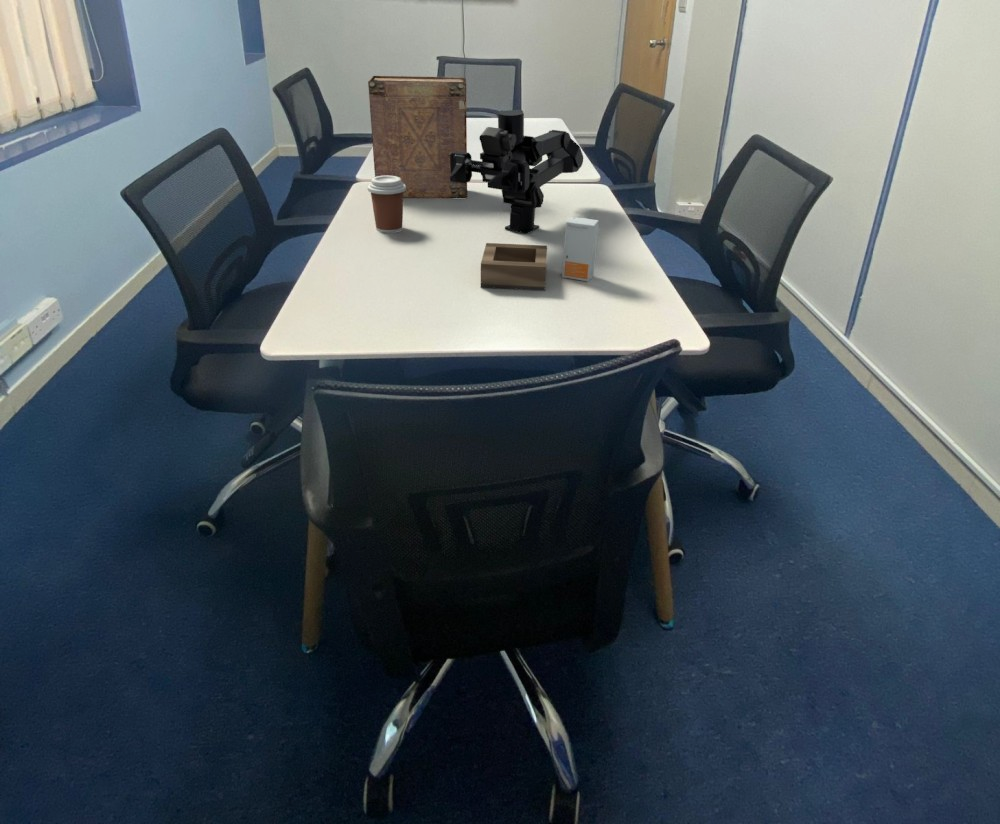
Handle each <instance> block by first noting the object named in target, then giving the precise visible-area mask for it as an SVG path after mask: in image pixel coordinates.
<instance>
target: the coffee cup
mask: <svg viewBox="0 0 1000 824" xmlns="http://www.w3.org/2000/svg"><path fill="white" fill-rule="evenodd" d="M370 181H371V182H370V183H369V184H368V185H367V191H368V192H369V193H370V196H371V203H372V209H373V217H374V224H375V230H376V231H377V232H380V233H384V234H385V233H386V234H390V233H397V232H401V231H402V230H403V218H404V217H403V215H404V198H403V192H404V191H405V190H406V186H405V184H403V183H402V182H401V178H399V177H397V176H388V175H386V176H377V177H375V176H374V177H372V179H371V180H370Z"/></svg>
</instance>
